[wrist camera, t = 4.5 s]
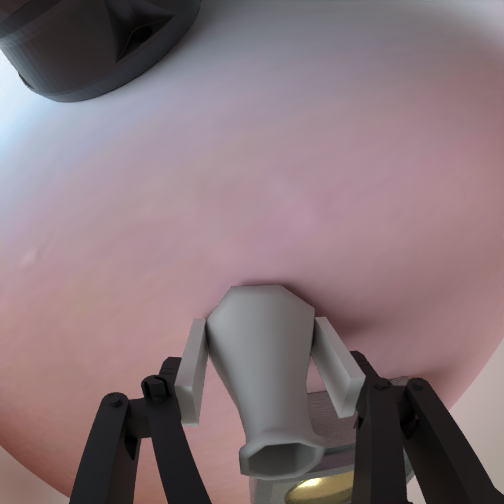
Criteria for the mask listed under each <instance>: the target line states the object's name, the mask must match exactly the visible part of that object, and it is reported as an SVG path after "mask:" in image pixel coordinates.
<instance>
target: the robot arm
mask: <svg viewBox="0 0 504 504" xmlns="http://www.w3.org/2000/svg"><path fill="white" fill-rule="evenodd" d="M200 4H201V0H0V49H1V50H2V52H3V53H4V55H5V56H6V57H7V59H8V60H9V61H10V63H11V64H12V65H13V66H14V68H15V69H16V70H17V71H18V73H19V76H20V78H21V80H22V81H23V83H24V84H25V85H26V86H27V87H28V88H29V89H30V90H32V91H33V92H35V93H37V94H39V95H42V96H44V97H46V98H48V99H51V100H53V101H57V102H77V101H82V100H87V99H90V98H94V97H96V96H99V95H102V94H104V93H107V92H109V91H111V90H113V89H115V88H117V87H119V86H121V85H123V84H125V83H126V82H128V81H130V80H132V79H133V78H135V77H136V76H138V75H139V74H141V73H142V72H144V71H145V70H147V69H148V68H149V67H151V66H152V65H153V64H155V63H156V62H157V61H158V60H160V59H161V58H162V57H163V56H164V55H165V54H166V53H168V52H169V51H170V50H171V49H172V48H173V47H174V46H175V45H176V44H177V43H178V42H179V40H180V39H181V38H182V37H183V36H184V35H185V33H186V32H187V31H188V29H189V28H190V26H191V25H192V23H193V22H194V20H195V18H196V16H197V13H198V11H199V8H200ZM311 355H312V357H313V360H314V362H315V364H316V366H317V369H318V371H319V373H320V376H321V378H322V380H323V382H324V385H325V387H326V389H327V391H328V394H329V396H330V398H331V401H332V403H333V405H334V407H335V410H336V412H337V414H338V417H339V418H344V417H349V416H353V414H354V411H355V408H356V410H357V412H358V416H357V418H356V421H355V424H354V426H353V429H355V427H356V446H355V464H354V478H353V488H352V498H351V504H413V503H412V502H408V500H407V488H406V472H405V460H404V451H403V447H404V449H405V452H406V454H407V456H408V459H409V461H410V463H411V466H412V468H413V471H414V473H415V475H416V478H417V481H418V483H419V486H420V488H421V491H422V494H423V496H424V499H425V502H426V504H504V495H503V494H502V493H501V492H499V491H498V490H497V489H496V488H495V487H494V486H493V484H492V482H491V480H490V478H489V476H488V474H487V473H486V471H485V469H484V467H483V466H482V464H481V462H480V461H479V459H478V457H477V455H476V454H475V452H474V451H473V449H472V447H471V446H470V444H469V443H468V441H467V439H466V438H465V436H464V434H463V433H462V431H461V430H460V428H459V427H458V425H457V424H456V422H455V421H454V419H453V418H452V416H451V415H450V413H449V412H448V410H447V409H446V407H445V406H444V404H443V403H442V401H441V400H440V398H439V397H438V396H437V394H436V393H435V391H434V390H433V389H432V387H431V386H430V384H429V383H428V382H427V381H426V380H424V379H422V378H412V379H410V380H409V381H408V382H407V384H406V386H396V385H393V384H392V382H391V381H389V380H388V379H385V378H380V377H379V376H378V374H377V373H376V372H375V370H374V369H373V367H372V366H371V365H370V363H369V362H368V361H367V359H366V358H365V356H364V355H363V354H361V353H360V352H358V351H348V349H347V348H346V346H345V345H344V343H343V342H342V340H341V339H340V337H339V336H338V334H337V333H336V331H335V330H334V328H333V327H332V325H331V324H330V323H329V321H328V320H327V318H326V317H314V326H313V337H312V347H311ZM207 360H208V344H207V332H206V319H194V321H193V324H192V327H191V330H190V333H189V337H188V340H187V343H186V347H185V350H184V353H183V357H182V358H180V357H168V358H167V359H166V360H165V361H164V362H163V364H162V367H161V369H160V372H159V375H151V376H148V377H146V378H144V380H143V381H142V383H141V387H142V391H143V394H144V398H140V399H131V400H128V398H127V396H126V395H124V394H123V393H119V392H113V393H110V394H107V395H106V396H104V398H103V399H102V401H101V404H100V406H99V409H98V412H97V414H96V417H95V420H94V423H93V425H92V428H91V431H90V434H89V437H88V440H87V443H86V446H85V449H84V452H83V455H82V458H81V462H80V465H79V468H78V472H77V475H76V479H75V482H74V486H73V490H72V494H71V498H70V502H69V504H133V499H134V489H135V481H136V473H137V465H138V458H139V451H140V445H141V438H149V437H151V438H152V443H153V448H154V452H155V457H156V461H157V465H158V469H159V473H160V477H161V481H162V484H163V488H164V491H165V495H166V498H167V501H168V504H212V503H211V501H210V498H209V496H208V494H207V491H206V489H205V487H204V484H203V482H202V479H201V477H200V475H199V472H198V469H197V467H196V464H195V462H194V459H193V456H192V453H191V451H190V448H189V445H188V442H187V439H186V436H185V433H184V430H183V427H182V425H186V426H198V424H199V416H200V408H201V401H202V394H203V387H204V380H205V373H206V366H207ZM181 420H182V424H181Z"/></svg>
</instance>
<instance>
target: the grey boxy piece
mask: <svg viewBox="0 0 504 504" xmlns="http://www.w3.org/2000/svg"><path fill="white" fill-rule="evenodd" d="M389 381H391V382H392V384H393V385H396V386H406V384H407V382H408V381H409V379H408V378H407V377H406V376H404V377H400V378H396V379H392V380H389ZM307 406H308V414H309V417H310V421H311V424H312V428H313V431H314V433H315V434H316V435H319V436H322V437H323V438H324V439H325V440H326V443H327V448H326V451H325V454H324V457H323V460H322V463H320V464H319V465H317V466H316V467H314V468H313V469H311V470H310V471H308V472H306V473H305V474H303V475H302V476H300V477H295V478H288V479H278V480H263V479H259V478H255V477H251V476H249V487H250V501H251V504H351V498H352V488H353V478H354V464H355V446H356V427H355V429H353V426H354V424H355V421H356V418H357V416H358V412H357V410H356V408H355V411H354V414H353V416H349V417H344V418H339V417H338V414H337V412H336V410H335V407H334V405H333V403H332V401H331V398H330V396H329V394H328V391H325V392H317V393H308V394H307ZM403 451H404V460H405V472H406V485H407V483H408V482H409V481H410V480H411V479H412V478H413V476H414V475H415V473H414V471H413V468H412V466H411V463H410V461H409V459H408V456H407V454H406V452H405V449H404V447H403Z"/></svg>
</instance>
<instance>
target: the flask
mask: <svg viewBox="0 0 504 504" xmlns="http://www.w3.org/2000/svg"><path fill="white" fill-rule="evenodd" d="M314 315H315V308H314V307H312V306H311V305H309V304H308V303H306V302H305V301H303V300H302V299H300V298H299V297H297V296H296V295H294V294H293V293H291V292H290V291H288V290H287V289H285V288H284V287H282V286H281V285H257V286H231V287H230V289H229V290H228V292H227V293H226V294H225V296H224V297H223V298H222V300H221V301H220V302H219V304H218V305H217V306H216V308H215V309H214V310H213V312H212V313H211V314H210V316H209V317H208V318H207V320H206V332H207V343H208V352H209V359H210V361H211V363H212V365H213V367H214V368H215V370H216V372H217V373H218V375H219V377H220V378H221V380H222V381H223V383H224V385H225V387H226V389H227V391H228V393H229V394H230V396H231V398H232V400H233V402H234V403H235V405H236V407H237V409H238V412H239V415H240V418H241V422H242V425H243V428H244V432H245V435H246V444H245V445H244V446H243V447H241V448H240V451H239V461H240V471H241V474H243V475H247V476H251V477H255V478H259V479H263V480H278V479H288V478H295V477H300V476H302V475H303V474H305V473H306V472H308V471H310V470H311V469H313V468H314V467H316V466H317V465H319V464H320V463H322V460H323V457H324V454H325V451H326V448H327V443H326V440H325V439H324V438H323V437H322V436H319V435H316V434H315V433H314V431H313V428H312V424H311V421H310V417H309V414H308V406H307V389H306V379H307V371H308V366H309V361H310V355H311V347H312V337H313V326H314Z"/></svg>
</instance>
